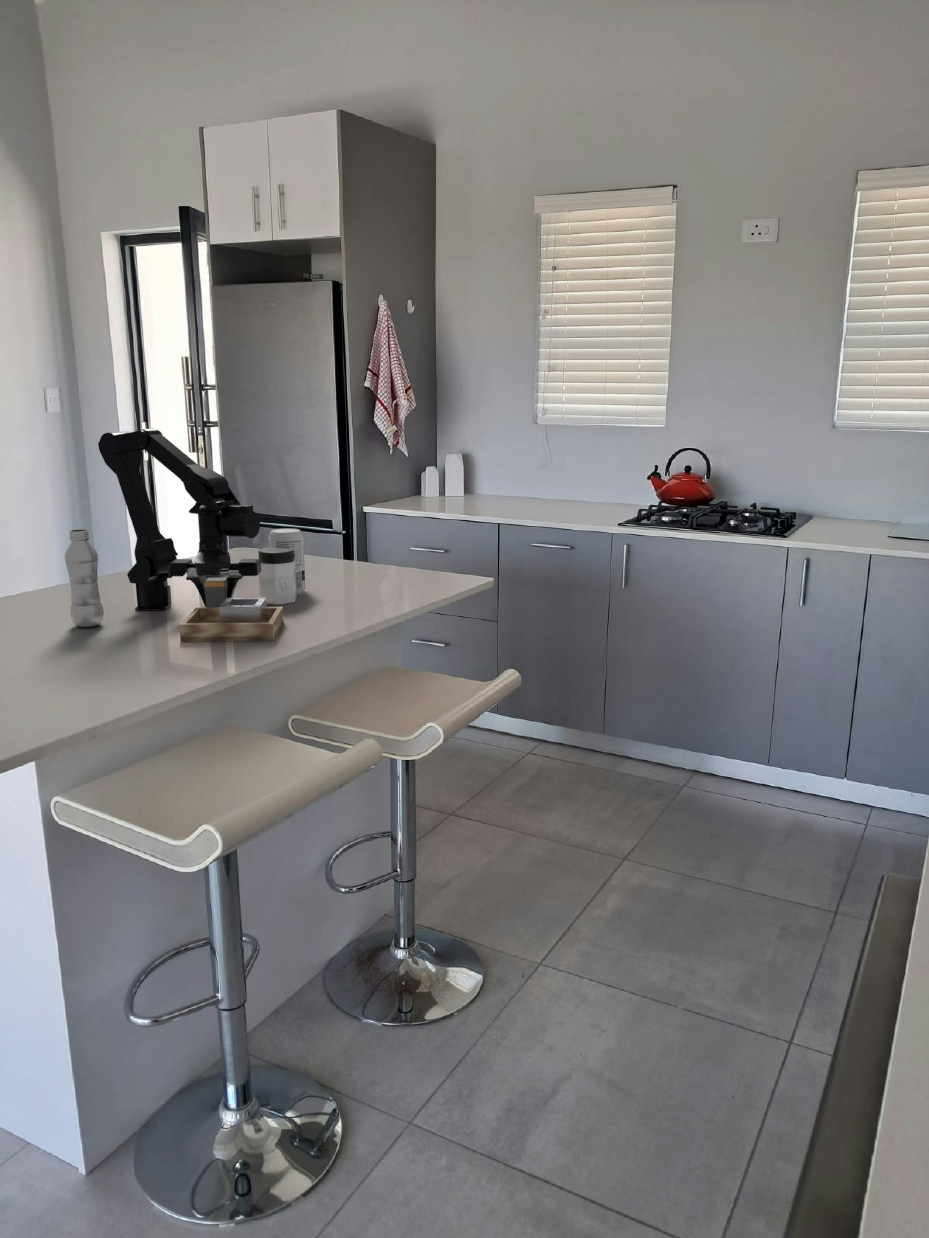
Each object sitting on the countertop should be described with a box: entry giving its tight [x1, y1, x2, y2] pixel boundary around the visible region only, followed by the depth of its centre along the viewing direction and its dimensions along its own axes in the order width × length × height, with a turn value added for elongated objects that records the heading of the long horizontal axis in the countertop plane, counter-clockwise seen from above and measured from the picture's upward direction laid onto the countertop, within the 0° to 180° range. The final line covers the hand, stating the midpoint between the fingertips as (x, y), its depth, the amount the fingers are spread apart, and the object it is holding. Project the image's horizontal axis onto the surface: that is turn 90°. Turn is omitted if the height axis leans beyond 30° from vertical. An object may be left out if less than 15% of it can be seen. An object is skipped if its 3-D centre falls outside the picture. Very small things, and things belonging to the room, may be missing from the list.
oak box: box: [178, 606, 284, 643], centre depth 187 cm, size 18×14×4 cm
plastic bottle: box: [64, 528, 105, 628], centre depth 189 cm, size 6×7×20 cm
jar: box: [257, 546, 298, 606], centre depth 214 cm, size 9×8×12 cm
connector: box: [204, 577, 227, 608], centre depth 200 cm, size 4×4×8 cm
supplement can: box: [267, 527, 306, 595], centre depth 222 cm, size 8×8×15 cm
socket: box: [219, 597, 268, 623], centre depth 188 cm, size 8×8×6 cm
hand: (217, 606), depth 200 cm, fingers open, 4 cm apart
